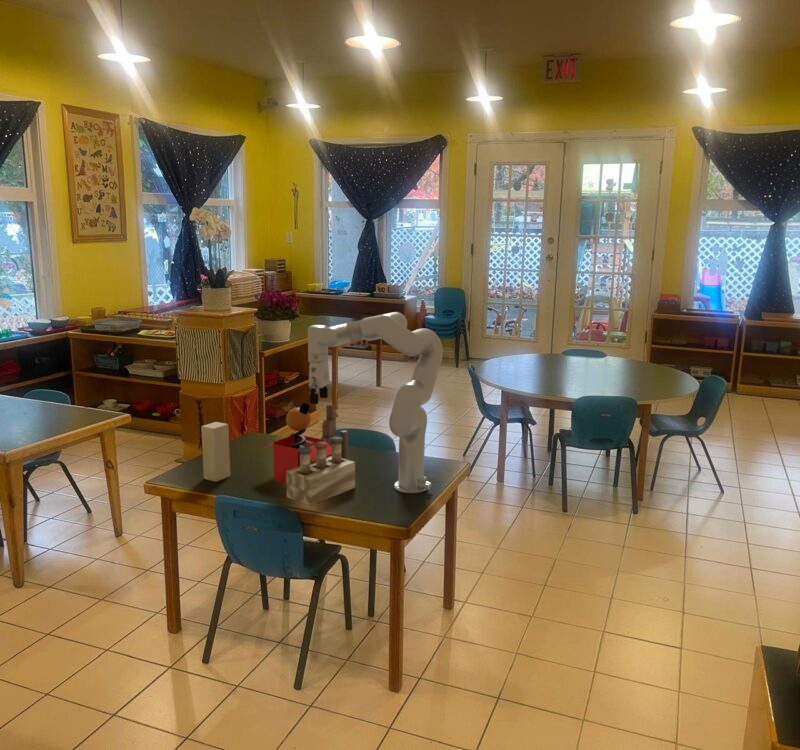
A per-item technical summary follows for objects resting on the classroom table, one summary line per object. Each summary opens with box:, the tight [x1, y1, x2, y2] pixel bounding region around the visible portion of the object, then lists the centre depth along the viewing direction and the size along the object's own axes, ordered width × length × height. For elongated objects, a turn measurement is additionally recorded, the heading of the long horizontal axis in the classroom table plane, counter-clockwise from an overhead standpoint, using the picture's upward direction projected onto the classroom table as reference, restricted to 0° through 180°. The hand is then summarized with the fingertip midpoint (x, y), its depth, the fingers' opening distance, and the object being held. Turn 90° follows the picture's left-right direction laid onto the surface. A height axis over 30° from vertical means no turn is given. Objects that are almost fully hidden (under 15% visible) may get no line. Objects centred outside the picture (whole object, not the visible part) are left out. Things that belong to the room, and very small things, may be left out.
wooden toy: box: [320, 404, 349, 460], centre depth 296 cm, size 16×7×25 cm, turn 160°
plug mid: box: [315, 442, 327, 469], centre depth 266 cm, size 5×5×9 cm
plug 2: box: [330, 436, 343, 464], centre depth 272 cm, size 5×5×9 cm
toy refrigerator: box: [200, 421, 231, 482], centre depth 281 cm, size 8×7×21 cm
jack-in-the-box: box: [261, 402, 332, 484], centre depth 281 cm, size 26×16×30 cm, turn 57°
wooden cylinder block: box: [286, 455, 356, 506], centre depth 268 cm, size 12×23×10 cm, turn 141°
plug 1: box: [298, 447, 311, 475], centre depth 260 cm, size 5×5×9 cm
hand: (319, 400), depth 285 cm, fingers open, 9 cm apart
